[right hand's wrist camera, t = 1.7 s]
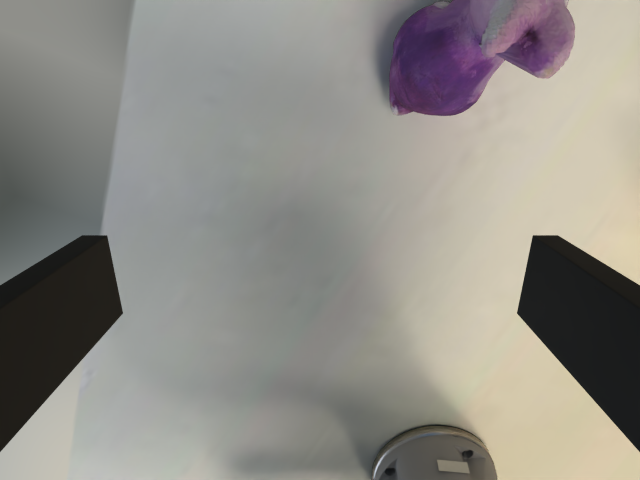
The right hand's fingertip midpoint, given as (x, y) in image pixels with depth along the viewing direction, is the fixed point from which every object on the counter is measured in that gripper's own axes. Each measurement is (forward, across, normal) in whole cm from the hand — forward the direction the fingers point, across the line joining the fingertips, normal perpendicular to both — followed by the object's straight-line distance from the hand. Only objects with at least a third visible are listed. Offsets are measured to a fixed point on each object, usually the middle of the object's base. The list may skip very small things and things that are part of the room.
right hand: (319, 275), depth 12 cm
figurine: (+26, -10, -9) cm, 29 cm away
